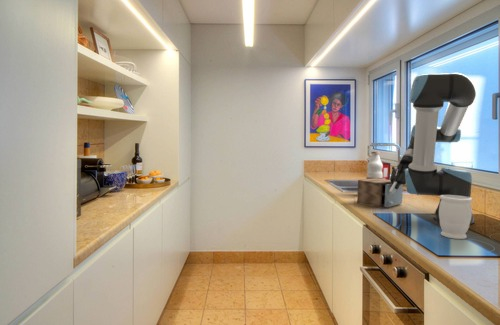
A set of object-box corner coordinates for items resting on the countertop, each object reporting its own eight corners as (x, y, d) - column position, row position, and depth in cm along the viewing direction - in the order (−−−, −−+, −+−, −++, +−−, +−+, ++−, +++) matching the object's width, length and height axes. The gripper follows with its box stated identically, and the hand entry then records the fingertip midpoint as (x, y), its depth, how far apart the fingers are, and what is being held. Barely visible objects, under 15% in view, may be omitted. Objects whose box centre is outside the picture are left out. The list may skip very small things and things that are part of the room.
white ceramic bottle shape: (365, 196, 208) (367, 151, 206) (366, 194, 216) (368, 151, 214) (381, 198, 204) (383, 152, 202) (382, 195, 213) (384, 151, 210)
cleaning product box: (367, 189, 238) (368, 161, 237) (379, 189, 238) (381, 161, 237) (375, 193, 222) (376, 163, 220) (388, 193, 222) (390, 163, 220)
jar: (458, 232, 132) (460, 194, 130) (476, 240, 121) (479, 199, 120) (431, 232, 131) (433, 194, 130) (448, 240, 121) (450, 199, 120)
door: (405, 203, 184) (406, 182, 183) (389, 207, 172) (390, 185, 171) (400, 202, 186) (401, 182, 185) (384, 206, 174) (385, 184, 174)
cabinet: (397, 204, 186) (398, 180, 185) (380, 207, 176) (381, 183, 175) (374, 200, 197) (375, 178, 196) (357, 203, 187) (358, 180, 186)
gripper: (424, 165, 176) (405, 199, 167) (400, 163, 186) (382, 196, 177) (419, 155, 172) (400, 189, 164) (395, 154, 183) (376, 186, 174)
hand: (391, 193), depth 170 cm, fingers closed
